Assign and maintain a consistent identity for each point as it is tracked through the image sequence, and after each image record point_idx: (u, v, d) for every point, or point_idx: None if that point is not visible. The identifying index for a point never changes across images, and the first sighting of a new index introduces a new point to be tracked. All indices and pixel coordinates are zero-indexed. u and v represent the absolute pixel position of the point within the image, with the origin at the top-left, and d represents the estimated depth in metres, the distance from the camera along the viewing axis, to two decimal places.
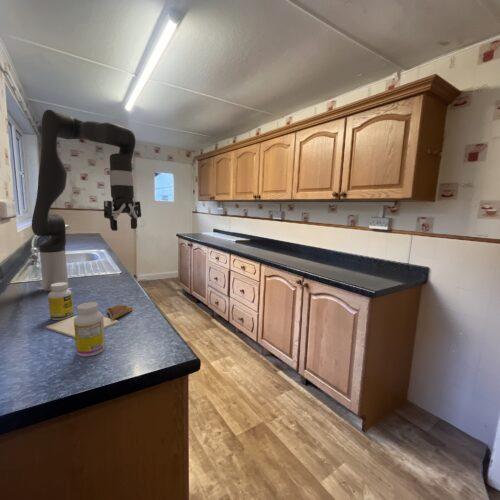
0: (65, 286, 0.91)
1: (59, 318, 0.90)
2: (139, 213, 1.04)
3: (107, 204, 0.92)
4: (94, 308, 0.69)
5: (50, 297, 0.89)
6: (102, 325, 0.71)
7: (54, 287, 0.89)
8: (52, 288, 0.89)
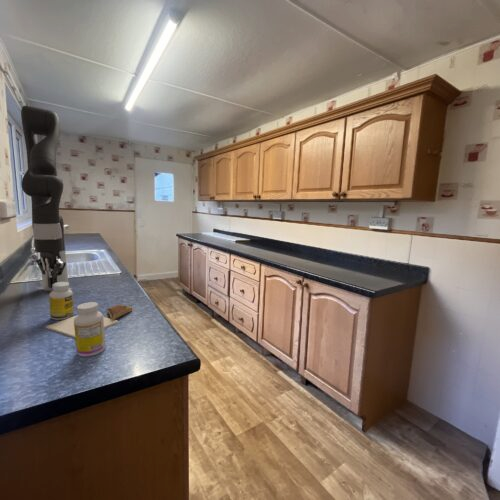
0: (67, 286, 0.90)
1: (59, 318, 0.90)
2: None
3: (63, 266, 0.89)
4: (94, 308, 0.69)
5: (51, 297, 0.88)
6: (102, 325, 0.71)
7: (56, 287, 0.88)
8: (54, 288, 0.89)
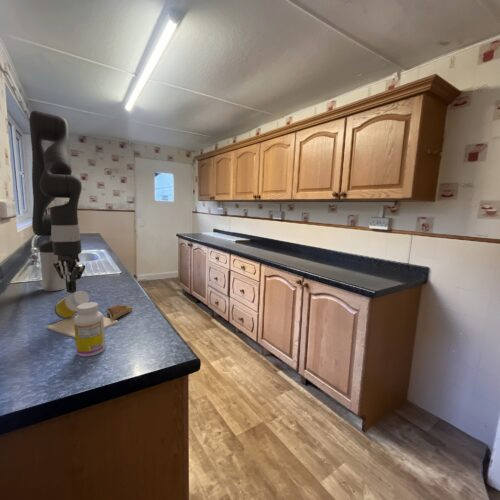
0: None
1: None
2: None
3: (82, 269, 0.85)
4: (94, 308, 0.69)
5: (66, 305, 0.86)
6: (102, 325, 0.71)
7: (76, 302, 0.85)
8: (73, 301, 0.85)
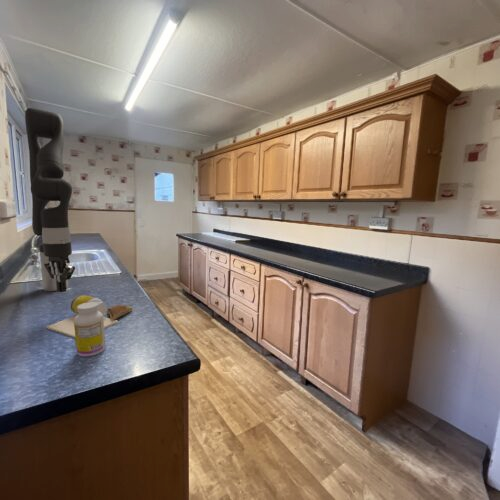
0: None
1: (71, 303, 0.92)
2: None
3: (72, 270, 0.89)
4: (94, 308, 0.69)
5: (90, 300, 0.90)
6: (102, 325, 0.71)
7: None
8: None
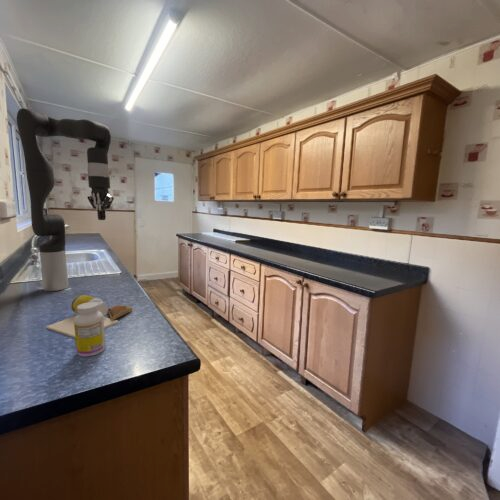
0: None
1: (72, 302, 0.92)
2: None
3: (111, 200, 1.07)
4: (94, 308, 0.69)
5: (91, 300, 0.90)
6: (102, 325, 0.71)
7: None
8: None
